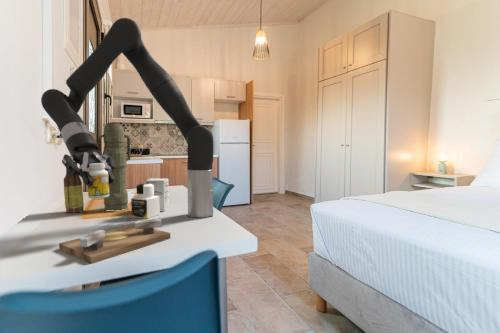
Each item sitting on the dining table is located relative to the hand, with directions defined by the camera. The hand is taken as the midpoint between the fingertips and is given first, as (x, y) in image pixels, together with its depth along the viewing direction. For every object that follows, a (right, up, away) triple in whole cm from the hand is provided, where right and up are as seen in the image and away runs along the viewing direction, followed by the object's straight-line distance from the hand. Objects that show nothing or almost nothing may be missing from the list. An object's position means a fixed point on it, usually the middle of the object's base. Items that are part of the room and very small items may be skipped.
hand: (101, 182), depth 82 cm
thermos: (-13, -13, +39) cm, 43 cm away
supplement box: (+4, -13, +38) cm, 40 cm away
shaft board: (+6, -16, -3) cm, 17 cm away
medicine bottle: (+3, -14, +27) cm, 31 cm away
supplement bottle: (-1, -4, +1) cm, 5 cm away
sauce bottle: (-28, -14, +34) cm, 46 cm away
